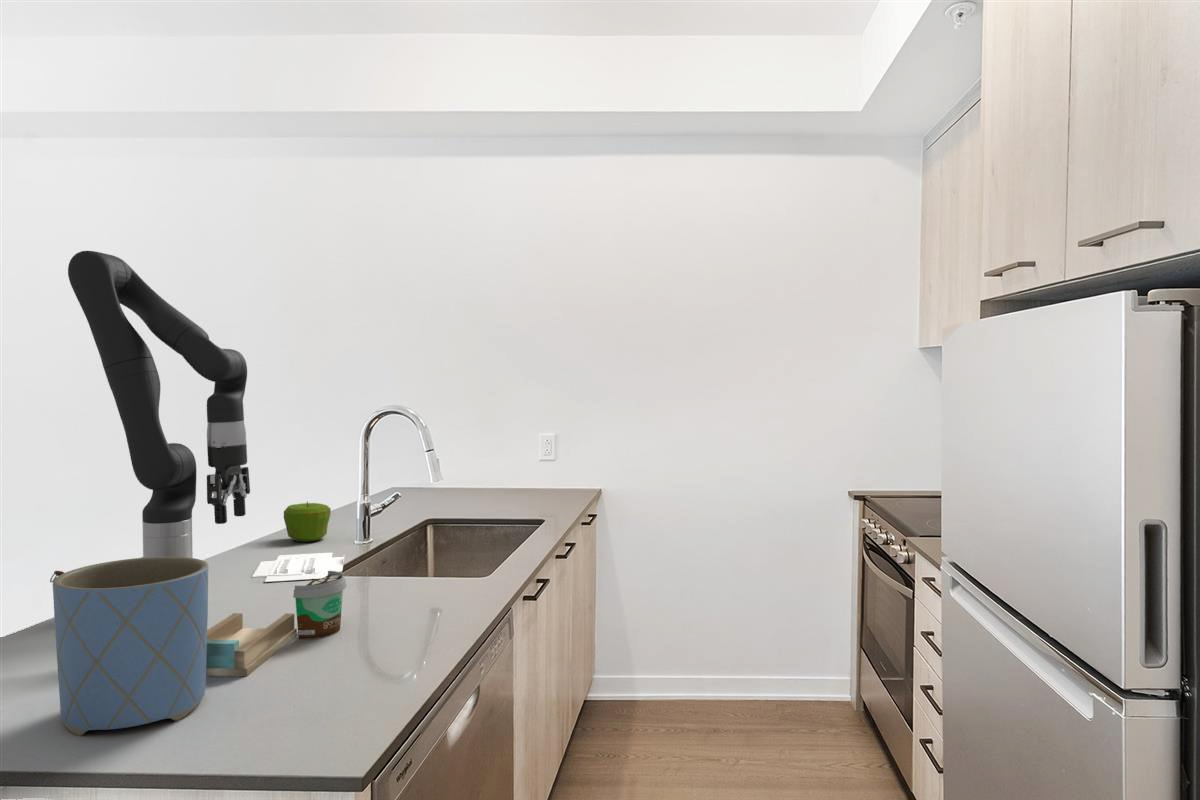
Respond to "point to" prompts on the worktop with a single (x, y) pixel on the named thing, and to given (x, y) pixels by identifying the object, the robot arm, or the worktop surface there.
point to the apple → (307, 521)
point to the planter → (131, 641)
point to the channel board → (244, 644)
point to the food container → (320, 606)
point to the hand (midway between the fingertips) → (230, 519)
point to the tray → (299, 567)
